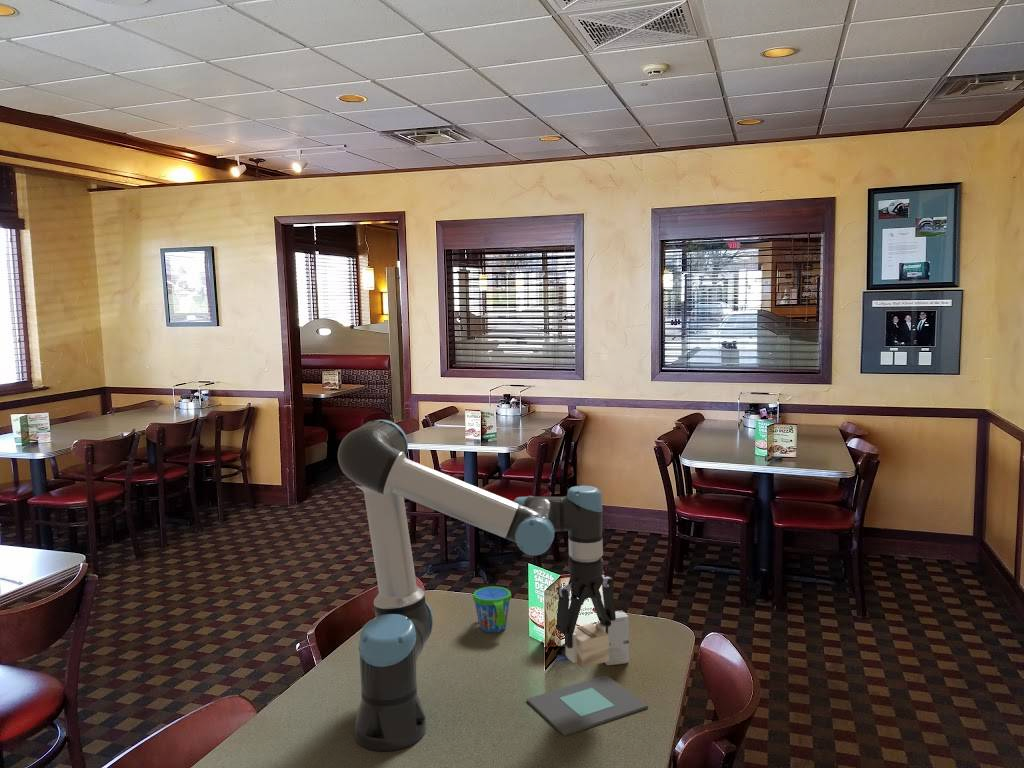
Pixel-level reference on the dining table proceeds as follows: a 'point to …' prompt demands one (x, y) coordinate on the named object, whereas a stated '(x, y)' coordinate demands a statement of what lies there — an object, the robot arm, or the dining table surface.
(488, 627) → the snack cup
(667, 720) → the dining table surface
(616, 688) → the rubber mat
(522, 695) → the dining table surface
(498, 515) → the robot arm
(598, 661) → the birch block
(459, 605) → the dining table surface
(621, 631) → the skincare box
